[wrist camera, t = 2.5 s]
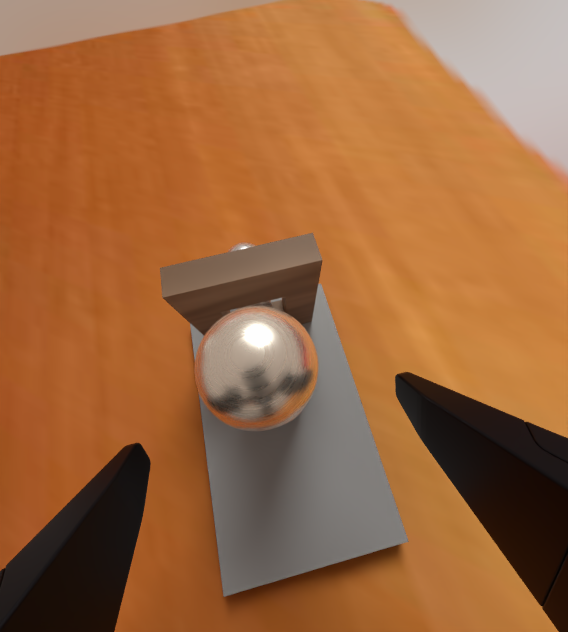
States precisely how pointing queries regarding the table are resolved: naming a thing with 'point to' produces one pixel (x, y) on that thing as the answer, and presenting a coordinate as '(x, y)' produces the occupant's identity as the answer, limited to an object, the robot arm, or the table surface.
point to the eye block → (246, 281)
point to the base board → (300, 479)
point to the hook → (256, 366)
